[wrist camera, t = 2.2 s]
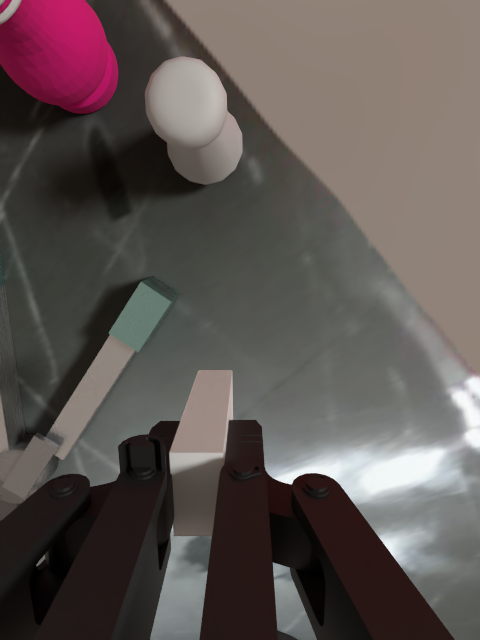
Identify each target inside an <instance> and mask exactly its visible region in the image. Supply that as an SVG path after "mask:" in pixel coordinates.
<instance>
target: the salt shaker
mask: <svg viewBox="0 0 480 640" xmlns="http://www.w3.org/2000/svg"><path fill="white" fill-rule="evenodd" d="M145 102H146V113H147V117H148V119H149V121H150V123H151V125H152V127H153V129H154V131H155V133H156V134H157V135H158V136H159V137H161V138H162V139H163V140H165V141H166V142H167V150H168V156H169V158H170V160H171V162H172V164H173V166H174V168H175V170H176V171H177V172H178V173H180V174H181V175H182V176H184V177H185V178H186V179H187V180H189V181H191V182H195V183H200V184H204V185H208V184H211V183H215V182H218V181H222V180H223V179H225V178H226V177H227V176H228V175H229V174H230V173H231V172H233V171H234V170H235V169H236V166H237V164H238V162H239V159H240V157H241V154H242V133H241V131H240V129H239V127H238V124H237V122H236V120H235V118H234V117H233V116H232V115H231V114H230V113H229V112H228V111H227V94H226V92H225V90H224V88H223V86H222V84H221V82H220V79H219V77H218V76H217V74H216V73H215V72H214V71H213V70H212V69H211V68H209V67H208V66H207V65H206V64H205V63H204V62H202V61H201V60H198V59H194V58H189V57H184V56H181V57H178V58H174V59H170V60H167V61H164V62H163V63H162V64H161V65H160V66H159V67H158V68H157V69H156V70H155V71H154V72H153V73H152V75H151V77H150V80H149V83H148V85H147V88H146V91H145Z"/></svg>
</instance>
